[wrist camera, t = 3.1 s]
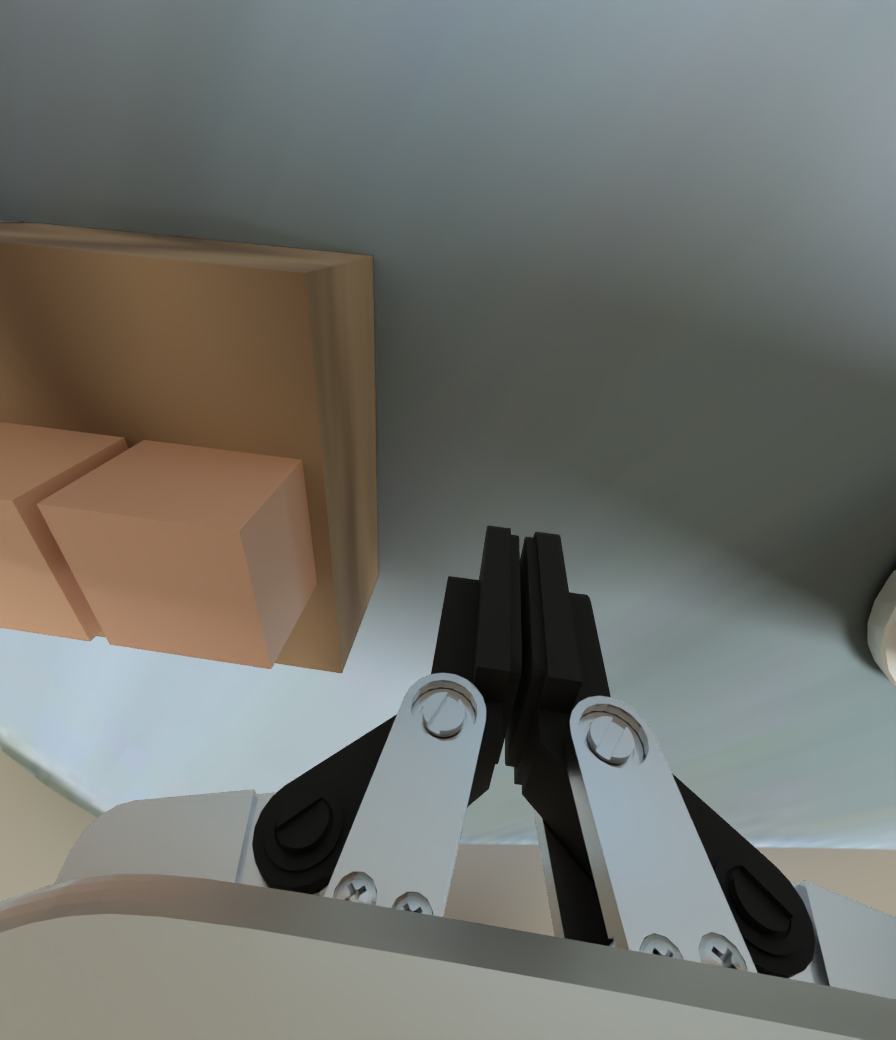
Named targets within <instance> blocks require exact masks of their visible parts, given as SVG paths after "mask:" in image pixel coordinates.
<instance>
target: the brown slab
mask: <svg viewBox="0 0 896 1040" xmlns="http://www.w3.org/2000/svg"><path fill="white" fill-rule="evenodd" d="M0 422H5V423H13V424H21V425H29V426H37V427H45V428H53V429H61V430H69V431H77V432H85V433H93V434H101V435H109V436H117V437H125V440H126V443H127V446H128V449H129V448H131V447H133V446H134V445H136V444H138V443H140V442H141V441H143V440H149V441H157V442H165V443H173V444H181V445H189V446H197V447H205V448H213V449H221V450H229V451H237V452H245V453H253V454H261V455H269V456H277V457H285V458H293V459H301V460H302V461H303V469H304V478H305V486H306V494H307V503H308V511H309V519H310V528H311V536H312V545H313V553H314V561H315V570H316V578H317V585H316V587H315V589H314V590H313V592H312V594H311V596H310V598H309V600H308V602H307V603H306V605H305V607H304V609H303V611H302V613H301V615H300V616H299V618H298V620H297V622H296V624H295V626H294V628H293V629H292V631H291V633H290V635H289V637H288V639H287V641H286V642H285V644H284V646H283V648H282V650H281V652H280V654H279V655H278V657H277V659H276V661H275V663H278V664H284V665H291V666H297V667H304V668H311V669H317V670H324V671H330V672H337V673H342V672H343V669H344V666H345V664H346V661H347V659H348V656H349V653H350V651H351V648H352V645H353V643H354V640H355V637H356V635H357V632H358V629H359V627H360V624H361V621H362V619H363V616H364V613H365V611H366V608H367V605H368V603H369V600H370V598H371V595H372V592H373V590H374V587H375V584H376V582H377V579H378V523H377V461H376V399H375V336H374V274H373V256H371V255H361V254H350V253H340V252H330V251H320V250H309V249H299V248H289V247H279V246H268V245H258V244H248V243H238V242H227V241H217V240H207V239H197V238H186V237H176V236H166V235H156V234H145V233H135V232H125V231H115V230H104V229H94V228H84V227H74V226H63V225H53V224H43V223H0ZM96 636H100V637H106V636H105V634H104V632H103V630H101V631H100V632H99V633H98V634H97V635H96Z"/></svg>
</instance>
